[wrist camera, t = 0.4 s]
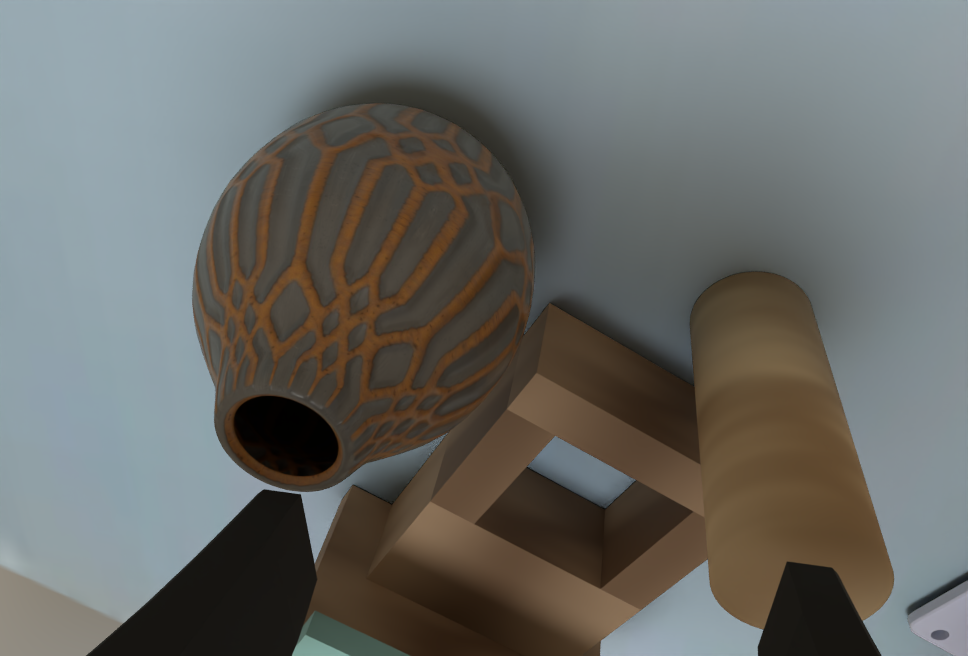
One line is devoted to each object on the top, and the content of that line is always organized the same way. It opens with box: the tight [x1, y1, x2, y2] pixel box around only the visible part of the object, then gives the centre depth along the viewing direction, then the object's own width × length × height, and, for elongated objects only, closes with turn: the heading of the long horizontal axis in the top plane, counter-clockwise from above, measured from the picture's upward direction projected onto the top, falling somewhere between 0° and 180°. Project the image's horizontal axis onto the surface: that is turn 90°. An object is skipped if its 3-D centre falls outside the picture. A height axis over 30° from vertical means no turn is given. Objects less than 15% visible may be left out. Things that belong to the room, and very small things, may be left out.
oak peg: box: [690, 272, 894, 629], centre depth 17 cm, size 3×3×8 cm
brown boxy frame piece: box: [292, 303, 708, 656], centre depth 22 cm, size 10×11×7 cm
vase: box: [192, 103, 535, 492], centre depth 16 cm, size 7×7×9 cm
